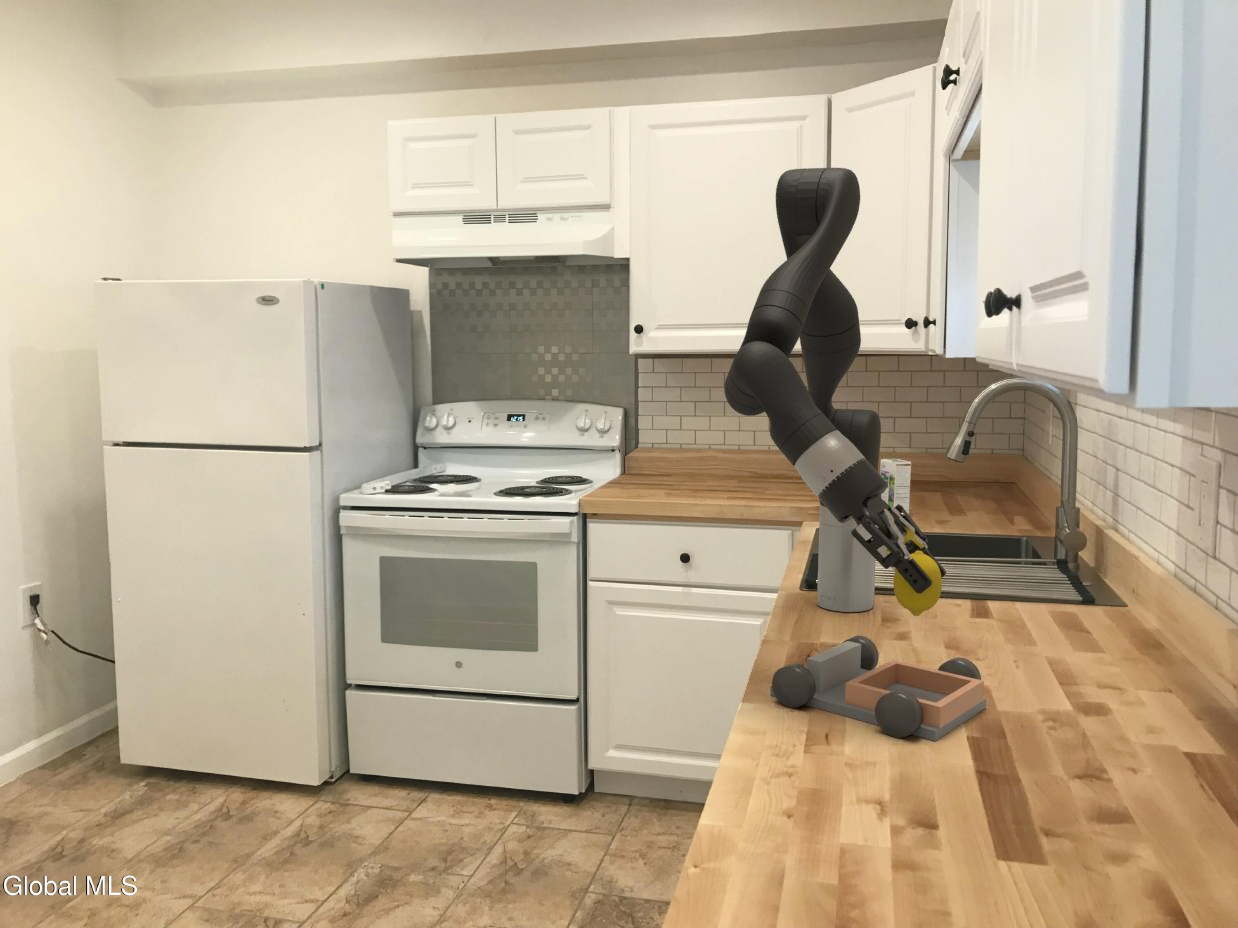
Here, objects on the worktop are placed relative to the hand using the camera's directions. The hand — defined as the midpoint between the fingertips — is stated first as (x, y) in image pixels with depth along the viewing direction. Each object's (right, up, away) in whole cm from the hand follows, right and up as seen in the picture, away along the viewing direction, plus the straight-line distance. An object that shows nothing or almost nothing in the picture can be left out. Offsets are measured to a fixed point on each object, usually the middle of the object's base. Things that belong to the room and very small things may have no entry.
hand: (933, 583), depth 120 cm
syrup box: (+33, +1, +138) cm, 142 cm away
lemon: (-2, -4, +2) cm, 5 cm away
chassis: (-5, -15, +6) cm, 17 cm away
